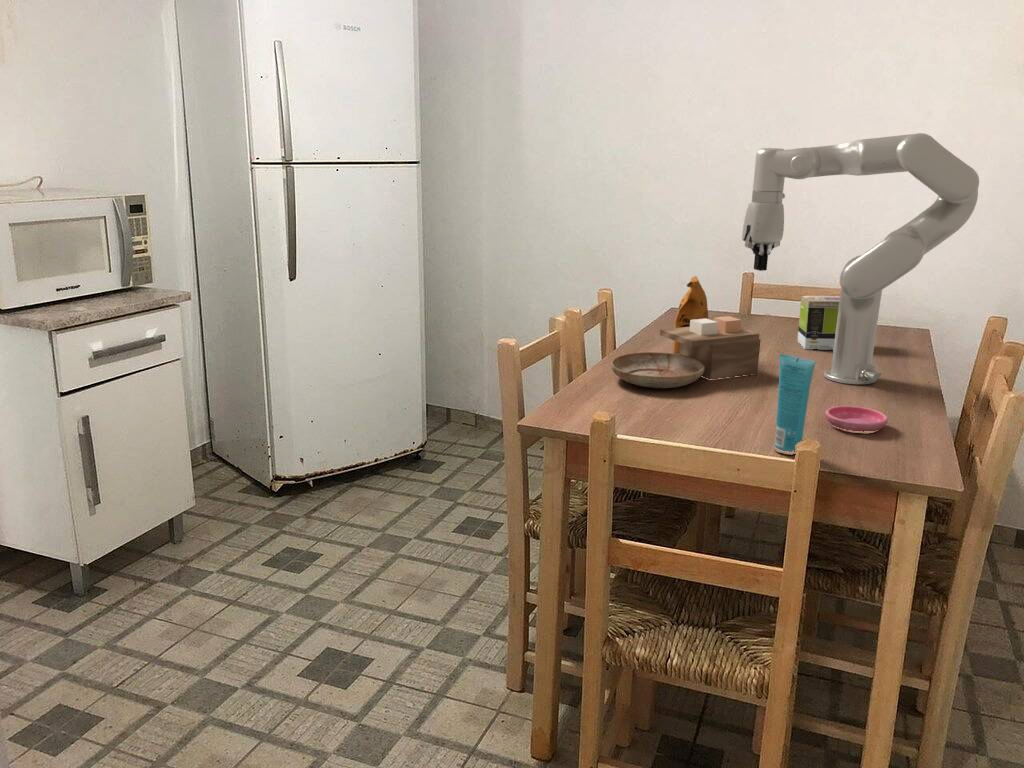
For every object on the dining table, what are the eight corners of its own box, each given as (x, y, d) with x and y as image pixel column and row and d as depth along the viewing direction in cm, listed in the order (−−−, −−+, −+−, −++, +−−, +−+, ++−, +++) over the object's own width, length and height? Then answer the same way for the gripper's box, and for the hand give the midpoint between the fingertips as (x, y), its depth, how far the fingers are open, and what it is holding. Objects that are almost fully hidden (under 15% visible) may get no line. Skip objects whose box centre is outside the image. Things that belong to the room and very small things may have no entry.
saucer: (817, 430, 179) (819, 415, 178) (832, 414, 189) (833, 401, 188) (879, 441, 172) (881, 427, 172) (891, 425, 182) (893, 411, 182)
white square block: (717, 333, 216) (717, 322, 215) (701, 335, 214) (701, 323, 213) (705, 329, 221) (706, 318, 220) (689, 331, 219) (690, 319, 218)
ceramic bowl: (594, 374, 219) (594, 355, 218) (672, 366, 227) (673, 348, 226) (637, 399, 198) (638, 379, 197) (722, 390, 206) (723, 370, 205)
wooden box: (757, 374, 220) (761, 333, 217) (689, 383, 211) (692, 341, 208) (723, 362, 232) (726, 323, 229) (657, 370, 223) (660, 329, 220)
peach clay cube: (740, 331, 219) (741, 319, 218) (724, 332, 217) (725, 321, 216) (728, 327, 224) (729, 316, 223) (712, 328, 222) (713, 317, 221)
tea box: (847, 343, 255) (853, 295, 250) (856, 351, 245) (863, 301, 241) (796, 342, 256) (801, 294, 252) (803, 350, 246) (809, 300, 242)
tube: (810, 453, 165) (821, 358, 160) (799, 459, 162) (810, 363, 156) (774, 443, 170) (784, 351, 164) (763, 450, 166) (773, 356, 161)
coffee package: (667, 359, 234) (672, 281, 228) (675, 349, 245) (680, 274, 239) (703, 363, 230) (709, 283, 224) (710, 353, 242) (715, 276, 235)
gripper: (779, 196, 221) (772, 266, 226) (734, 197, 215) (727, 269, 220) (800, 198, 214) (792, 270, 220) (753, 199, 209) (746, 273, 214)
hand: (760, 269), depth 220 cm, fingers closed
